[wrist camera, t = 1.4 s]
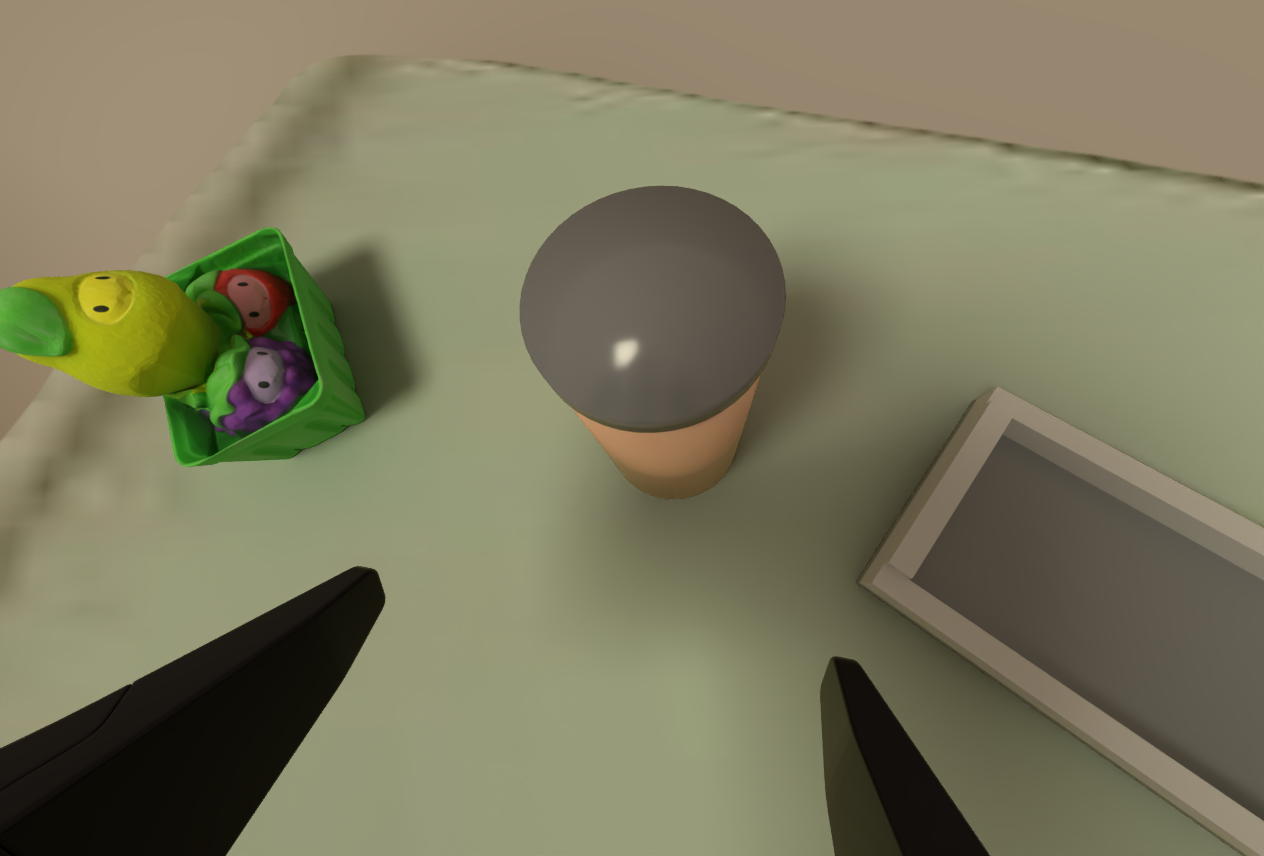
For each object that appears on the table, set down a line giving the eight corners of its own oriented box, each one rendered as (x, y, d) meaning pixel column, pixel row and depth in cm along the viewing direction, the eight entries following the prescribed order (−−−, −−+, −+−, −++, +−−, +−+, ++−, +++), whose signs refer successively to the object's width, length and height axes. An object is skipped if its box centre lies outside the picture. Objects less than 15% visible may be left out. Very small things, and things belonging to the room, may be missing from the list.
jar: (758, 478, 23) (830, 369, 11) (628, 518, 23) (550, 456, 11) (714, 360, 25) (731, 154, 13) (595, 398, 25) (498, 231, 13)
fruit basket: (394, 428, 26) (186, 329, 16) (250, 501, 26) (-59, 452, 15) (345, 277, 30) (149, 112, 19) (218, 340, 30) (-50, 209, 19)
